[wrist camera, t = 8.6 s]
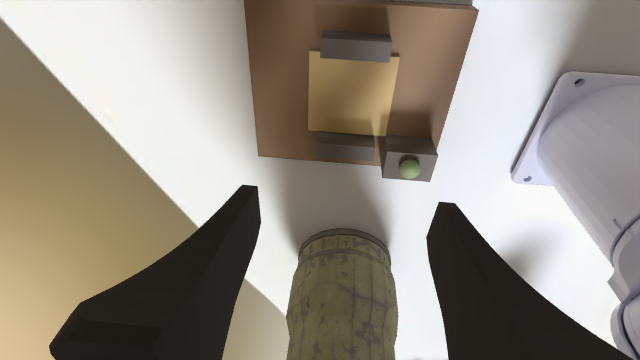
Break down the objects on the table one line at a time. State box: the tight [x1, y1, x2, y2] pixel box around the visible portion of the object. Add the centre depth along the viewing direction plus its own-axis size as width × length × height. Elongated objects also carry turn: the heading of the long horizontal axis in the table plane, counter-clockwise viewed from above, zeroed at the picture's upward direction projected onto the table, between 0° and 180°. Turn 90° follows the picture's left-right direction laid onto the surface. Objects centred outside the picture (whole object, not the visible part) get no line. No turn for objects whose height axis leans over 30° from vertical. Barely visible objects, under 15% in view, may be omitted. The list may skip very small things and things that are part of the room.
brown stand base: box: [244, 0, 479, 182], centre depth 20 cm, size 12×10×4 cm
